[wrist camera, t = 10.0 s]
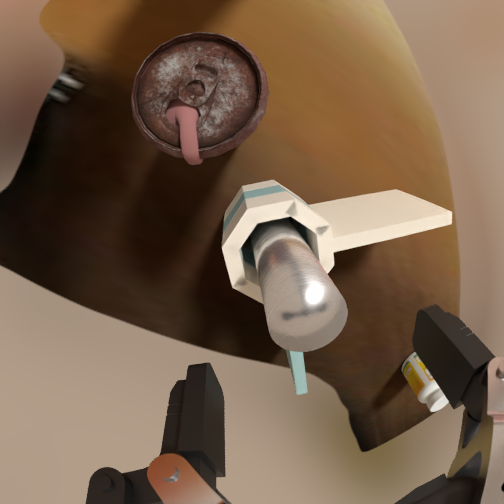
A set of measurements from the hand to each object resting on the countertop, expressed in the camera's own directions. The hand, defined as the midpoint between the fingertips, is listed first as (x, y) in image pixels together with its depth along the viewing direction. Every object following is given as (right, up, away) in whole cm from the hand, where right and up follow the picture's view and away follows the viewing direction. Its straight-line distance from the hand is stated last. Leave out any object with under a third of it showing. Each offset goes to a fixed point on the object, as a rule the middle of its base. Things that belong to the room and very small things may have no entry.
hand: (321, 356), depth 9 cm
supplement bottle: (+23, -13, +27) cm, 38 cm away
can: (-6, +15, +13) cm, 21 cm away
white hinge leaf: (+4, +8, +17) cm, 19 cm away
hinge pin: (-1, +7, +17) cm, 18 cm away
